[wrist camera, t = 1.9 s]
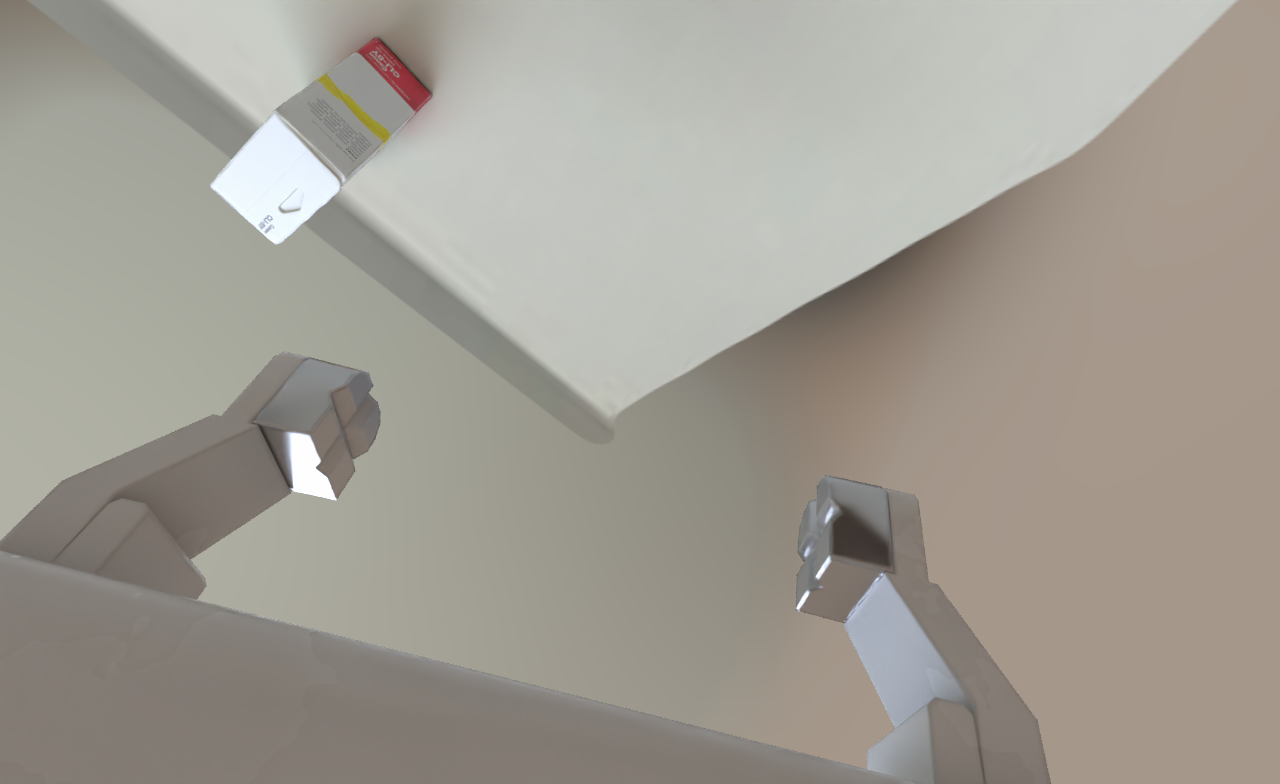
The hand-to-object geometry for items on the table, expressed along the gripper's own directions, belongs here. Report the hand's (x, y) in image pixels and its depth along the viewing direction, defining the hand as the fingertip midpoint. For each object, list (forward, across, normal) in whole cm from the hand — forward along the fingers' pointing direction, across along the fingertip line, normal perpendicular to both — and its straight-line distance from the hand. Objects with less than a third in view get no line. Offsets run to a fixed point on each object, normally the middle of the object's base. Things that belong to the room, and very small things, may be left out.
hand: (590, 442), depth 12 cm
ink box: (+34, +24, +12) cm, 44 cm away
